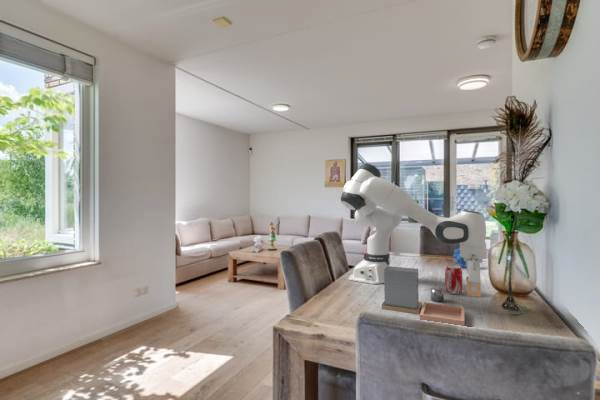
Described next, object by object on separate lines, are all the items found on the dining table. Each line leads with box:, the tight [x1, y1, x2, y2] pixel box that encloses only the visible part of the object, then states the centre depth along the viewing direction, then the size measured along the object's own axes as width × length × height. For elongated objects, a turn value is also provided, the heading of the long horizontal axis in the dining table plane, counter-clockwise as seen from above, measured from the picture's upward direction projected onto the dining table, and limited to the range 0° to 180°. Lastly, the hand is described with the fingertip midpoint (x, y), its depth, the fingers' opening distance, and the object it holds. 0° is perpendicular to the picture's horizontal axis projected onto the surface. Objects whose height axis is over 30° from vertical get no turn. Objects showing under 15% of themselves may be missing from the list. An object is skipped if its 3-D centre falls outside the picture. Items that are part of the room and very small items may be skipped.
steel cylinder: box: [430, 286, 445, 304], centre depth 131 cm, size 5×5×5 cm
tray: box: [419, 301, 466, 326], centre depth 113 cm, size 14×14×2 cm
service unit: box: [381, 265, 423, 315], centre depth 124 cm, size 14×10×16 cm
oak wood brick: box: [466, 276, 482, 298], centre depth 119 cm, size 4×4×7 cm
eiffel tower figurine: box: [500, 277, 533, 318], centre depth 120 cm, size 15×10×13 cm
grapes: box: [452, 247, 467, 269], centre depth 186 cm, size 12×7×12 cm, turn 29°
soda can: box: [444, 264, 464, 295], centre depth 141 cm, size 7×7×12 cm
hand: (473, 288), depth 119 cm, fingers closed on oak wood brick, 4 cm apart
